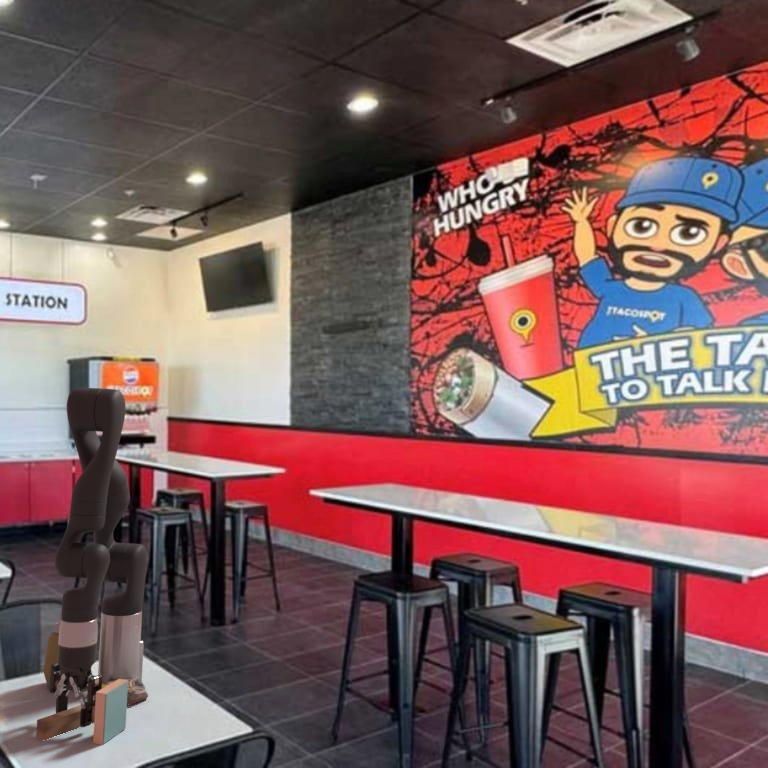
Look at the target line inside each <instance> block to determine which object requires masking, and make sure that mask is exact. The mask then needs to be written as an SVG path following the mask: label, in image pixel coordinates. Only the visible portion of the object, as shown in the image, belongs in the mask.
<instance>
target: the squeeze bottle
mask: <svg viewBox="0 0 768 768" xmlns="http://www.w3.org/2000/svg"><path fill="white" fill-rule="evenodd" d="M60 624H61V616H60V617H59V621H58V622H55V623H54V624H53V632H52V633H51V634H50V635H48V640H47V646H46V653H45V658H44V663H43V664H44V665H43V671H42V672H43V675H44V679H45V682H46V685H47V687H48V688H50V674H51V665H52V664H55V663H57V656H58V641H59V629H60ZM57 685H58V681H56V682H55V686H57Z"/></svg>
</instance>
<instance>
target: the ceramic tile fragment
mask: <svg viewBox="0 0 768 768" xmlns="http://www.w3.org/2000/svg"><path fill="white" fill-rule="evenodd" d="M124 680H128V692H127V704H130V705H134V704H136V702H137V703H139V702H142V701H145V700H147V699H148V698H149V693H147V691H146V686H145V685H144V682H143V681H142V680H143V679H142V680H141V679H140V678H135V679H124ZM113 682H114V681H107V682H102V688H104V687H106V686H107V685H109V684H111V683H113ZM141 700H142V701H141ZM138 701H139V702H138Z"/></svg>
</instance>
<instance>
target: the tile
mask: <svg viewBox="0 0 768 768" xmlns="http://www.w3.org/2000/svg"><path fill="white" fill-rule="evenodd" d="M127 692H128V680H124V679H118V680H116V681H114V682H113V683H111V684H109V685H107V686H106V687H104V688H102V689H101V690H99V691H97V692H96V695H95V698H96V702H95V719H94V723H93V724H94V725H93V738H92V739H93V740H92V744H93V743H96V744H95V745H99V744H101V746H102V745H104V744H106V743H107V742H108V741H110V740H111V739H113V738H115V736H117V735H118V734H119V733H121V732H122V731H124V730H126V727H127V726H126V724H127V707H128V705H127Z"/></svg>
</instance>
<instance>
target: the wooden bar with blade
mask: <svg viewBox="0 0 768 768" xmlns="http://www.w3.org/2000/svg"><path fill="white" fill-rule="evenodd" d="M81 708H82V707H81V704H79V705H76V706H74V707H71V708H67V710H65V711H62V712H59V713H56V712H55V713H53V714H51V715H47V716H45V717H42V718H39V719H37V720H36V732H35V733H36V734H35V738H36V739H37V738H38V740H40V739H41V740H40V741H42V740H47V739H49V738H52V737H54V736H57V735H60V734H63V733H65V734H67V733H66V732H68V731H71V730H73V731H75V730H74V729H76V730H78V729H77V728H79V727H81V726H80V715H81ZM94 719H95V706H94V707H93V714H92V722H91V723H92V724H94V723H93V722H94ZM81 728H82V727H81ZM79 729H80V728H79ZM71 732H72V731H71ZM68 733H69V732H68ZM63 735H64V734H63ZM60 736H61V735H60ZM57 737H58V736H57ZM52 739H53V738H52ZM49 740H50V739H49ZM47 741H48V740H47Z"/></svg>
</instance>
